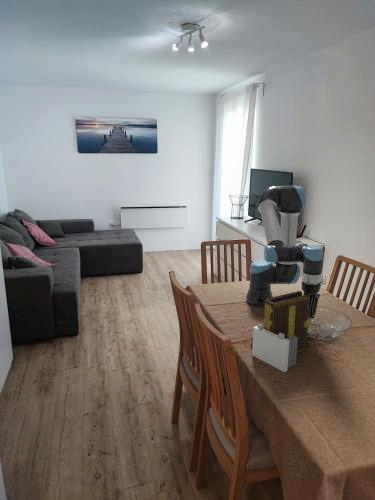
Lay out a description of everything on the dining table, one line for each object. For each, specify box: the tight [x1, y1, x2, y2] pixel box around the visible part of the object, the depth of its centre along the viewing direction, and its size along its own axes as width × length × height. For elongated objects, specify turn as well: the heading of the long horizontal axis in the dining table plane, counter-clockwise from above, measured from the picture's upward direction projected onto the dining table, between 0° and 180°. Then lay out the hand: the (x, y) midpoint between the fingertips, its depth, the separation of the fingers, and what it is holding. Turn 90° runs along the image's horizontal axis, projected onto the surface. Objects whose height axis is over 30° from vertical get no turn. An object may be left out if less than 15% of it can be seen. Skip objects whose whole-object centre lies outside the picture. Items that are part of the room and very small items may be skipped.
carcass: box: [251, 323, 298, 373], centre depth 148 cm, size 8×16×15 cm, turn 40°
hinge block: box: [250, 334, 253, 346], centre depth 162 cm, size 4×4×4 cm
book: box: [263, 290, 313, 354], centre depth 152 cm, size 22×8×25 cm, turn 116°
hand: (307, 331), depth 164 cm, fingers closed
